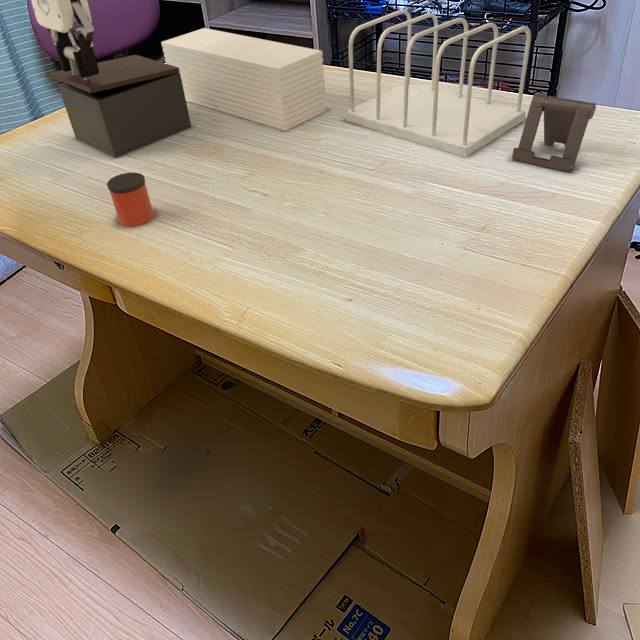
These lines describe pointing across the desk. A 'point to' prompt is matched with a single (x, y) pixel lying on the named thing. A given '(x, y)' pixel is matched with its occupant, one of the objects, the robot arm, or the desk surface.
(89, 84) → the brown box lid
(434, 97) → the file sorter
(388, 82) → the desk surface
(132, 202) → the container
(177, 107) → the brown hinged lid box
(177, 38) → the stack of papers
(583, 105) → the tablet stand
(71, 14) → the robot arm
